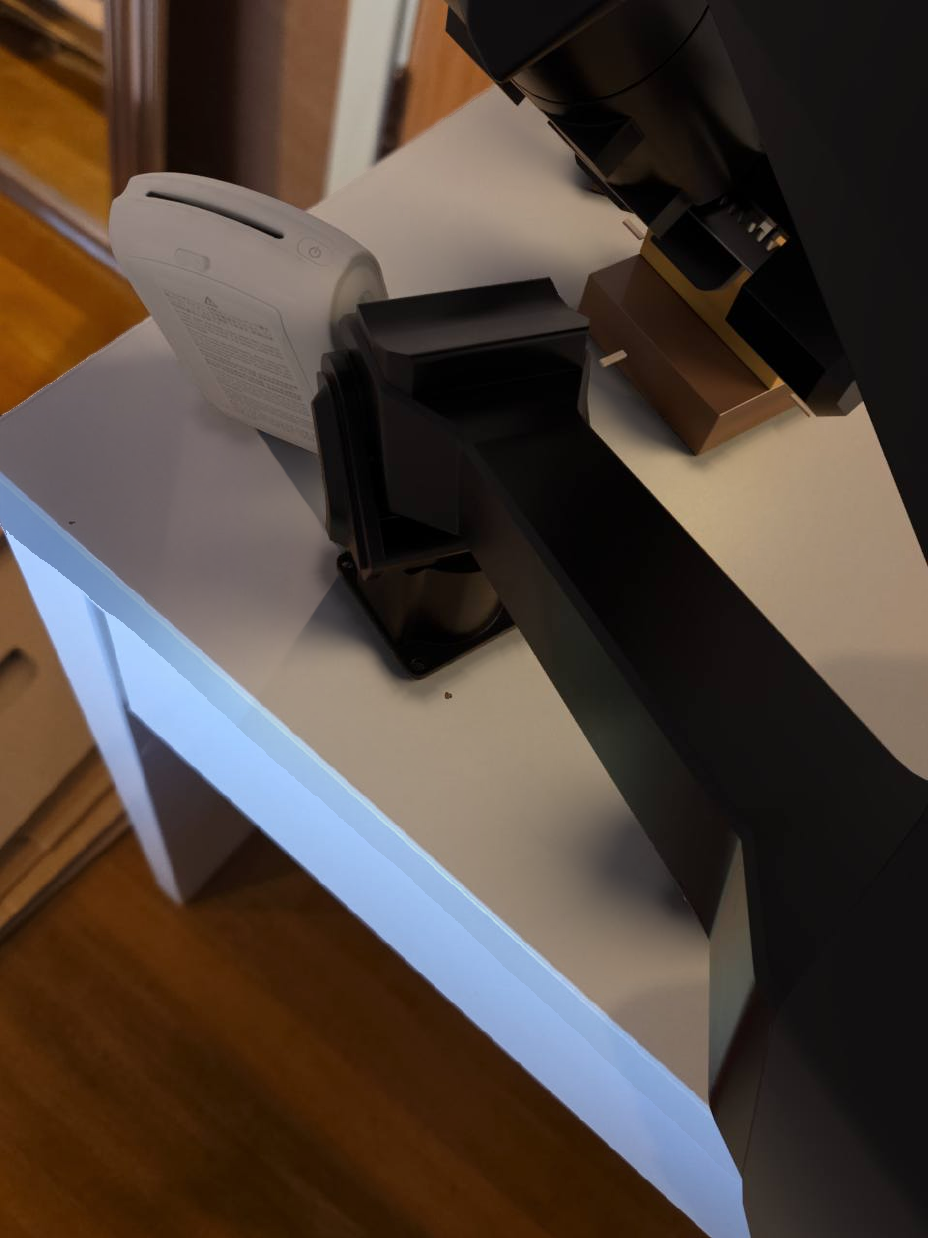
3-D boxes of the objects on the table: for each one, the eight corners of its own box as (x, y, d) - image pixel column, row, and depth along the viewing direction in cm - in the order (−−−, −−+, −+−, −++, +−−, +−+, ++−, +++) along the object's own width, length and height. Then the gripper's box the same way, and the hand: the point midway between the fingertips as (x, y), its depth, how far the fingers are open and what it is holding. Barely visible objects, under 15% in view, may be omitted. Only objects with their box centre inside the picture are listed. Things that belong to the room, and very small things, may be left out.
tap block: (881, 404, 50) (914, 361, 48) (676, 514, 45) (699, 473, 42) (706, 228, 55) (727, 180, 52) (502, 310, 50) (513, 262, 47)
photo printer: (437, 411, 43) (382, 201, 32) (391, 491, 42) (316, 303, 30) (244, 337, 46) (128, 119, 34) (196, 410, 45) (59, 210, 33)
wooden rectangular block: (793, 378, 46) (857, 275, 41) (769, 390, 46) (831, 287, 40) (662, 242, 49) (705, 130, 44) (638, 252, 49) (679, 139, 43)
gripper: (1290, -144, 16) (1164, 216, 30) (614, -555, 22) (764, -102, 36) (764, 353, 20) (864, 471, 34) (313, -112, 26) (551, 145, 40)
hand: (758, 230), depth 36 cm, fingers closed
